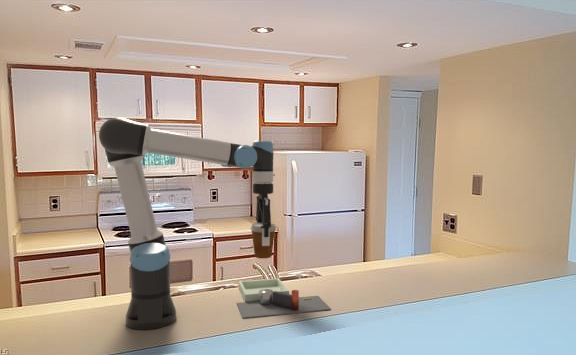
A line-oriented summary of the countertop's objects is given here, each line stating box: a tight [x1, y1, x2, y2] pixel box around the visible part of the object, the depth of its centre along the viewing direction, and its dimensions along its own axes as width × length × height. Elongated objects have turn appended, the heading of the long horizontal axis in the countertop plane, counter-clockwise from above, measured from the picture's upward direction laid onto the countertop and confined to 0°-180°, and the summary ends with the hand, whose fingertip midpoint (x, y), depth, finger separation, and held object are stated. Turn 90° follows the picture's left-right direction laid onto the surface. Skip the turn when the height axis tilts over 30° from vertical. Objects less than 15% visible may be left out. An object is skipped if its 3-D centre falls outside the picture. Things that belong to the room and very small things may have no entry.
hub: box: [259, 289, 311, 305], centre depth 149 cm, size 19×5×4 cm, turn 105°
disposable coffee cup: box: [250, 222, 277, 259], centre depth 157 cm, size 10×10×12 cm
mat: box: [236, 295, 332, 319], centre depth 144 cm, size 30×14×1 cm, turn 105°
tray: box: [238, 277, 290, 302], centre depth 158 cm, size 16×16×3 cm
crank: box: [273, 289, 300, 310], centre depth 142 cm, size 10×2×6 cm, turn 57°
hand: (263, 242), depth 157 cm, fingers closed on disposable coffee cup, 9 cm apart
